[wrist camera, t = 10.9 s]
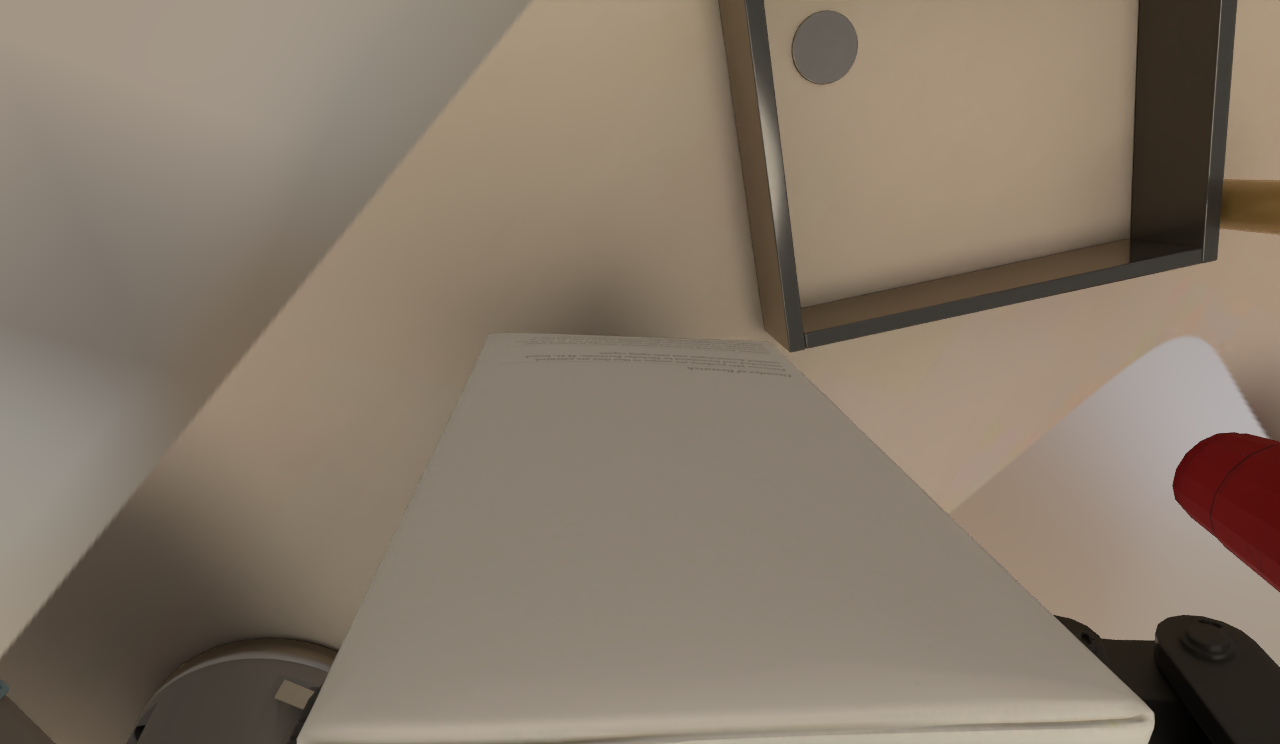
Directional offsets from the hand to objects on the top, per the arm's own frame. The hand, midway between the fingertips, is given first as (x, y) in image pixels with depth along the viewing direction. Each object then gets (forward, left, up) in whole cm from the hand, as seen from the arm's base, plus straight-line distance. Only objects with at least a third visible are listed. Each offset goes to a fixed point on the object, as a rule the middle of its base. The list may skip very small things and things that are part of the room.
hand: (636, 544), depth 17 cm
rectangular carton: (0, 0, -5) cm, 5 cm away
